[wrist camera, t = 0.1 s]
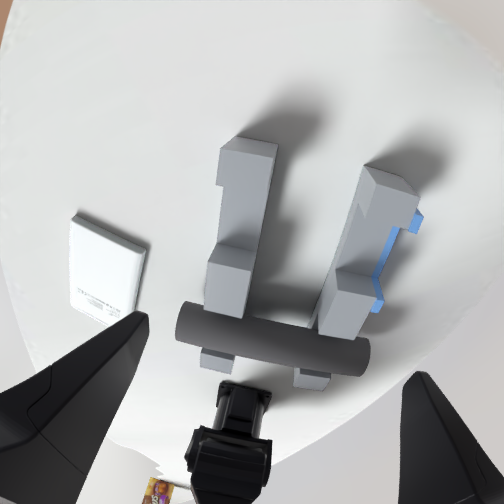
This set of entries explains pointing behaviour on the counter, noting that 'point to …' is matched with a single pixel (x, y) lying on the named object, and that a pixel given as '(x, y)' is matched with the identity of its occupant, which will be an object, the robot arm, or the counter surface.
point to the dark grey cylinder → (271, 341)
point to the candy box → (158, 492)
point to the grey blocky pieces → (343, 265)
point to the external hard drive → (103, 272)
